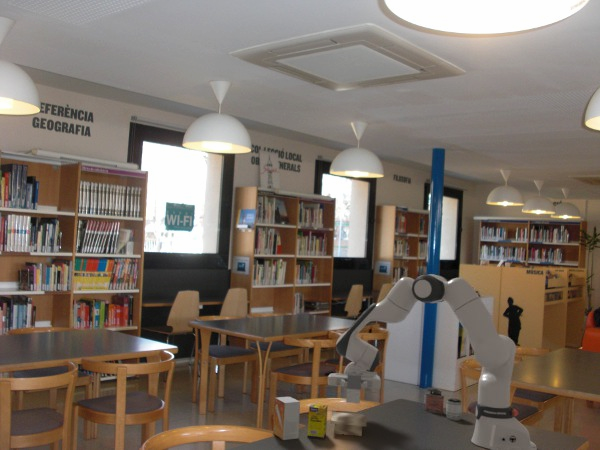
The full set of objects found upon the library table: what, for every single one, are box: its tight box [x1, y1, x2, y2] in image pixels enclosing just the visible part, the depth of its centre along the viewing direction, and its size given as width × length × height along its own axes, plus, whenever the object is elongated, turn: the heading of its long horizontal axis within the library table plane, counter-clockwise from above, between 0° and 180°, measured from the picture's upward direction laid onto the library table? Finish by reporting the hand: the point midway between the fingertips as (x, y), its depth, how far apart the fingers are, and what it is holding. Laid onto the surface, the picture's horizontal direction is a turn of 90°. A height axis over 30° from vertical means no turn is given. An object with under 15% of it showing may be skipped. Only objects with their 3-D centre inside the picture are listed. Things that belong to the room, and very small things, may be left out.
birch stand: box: [330, 411, 368, 437], centre depth 241 cm, size 13×13×5 cm
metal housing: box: [345, 373, 362, 404], centre depth 241 cm, size 5×5×10 cm
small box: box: [272, 396, 301, 441], centre depth 230 cm, size 8×6×13 cm
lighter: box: [424, 387, 445, 415], centre depth 278 cm, size 8×3×10 cm, turn 58°
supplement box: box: [307, 403, 329, 440], centre depth 232 cm, size 6×6×11 cm
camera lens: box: [445, 398, 463, 421], centre depth 269 cm, size 6×6×8 cm
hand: (353, 385), depth 241 cm, fingers closed on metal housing, 5 cm apart
